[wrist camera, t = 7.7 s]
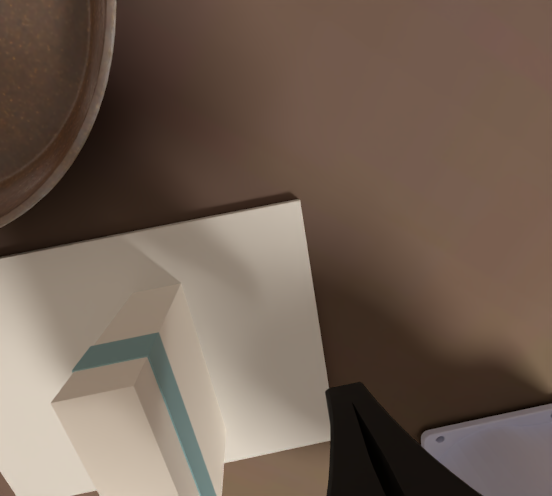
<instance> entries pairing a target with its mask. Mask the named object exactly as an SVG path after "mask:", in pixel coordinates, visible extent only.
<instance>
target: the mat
mask: <svg viewBox="0 0 552 496" xmlns="http://www.w3.org/2000/svg"><path fill="white" fill-rule="evenodd" d="M180 283H181V285H182V288H183V291H184V294H185V298H186V301H187V304H188V307H189V311H190V314H191V317H192V320H193V324H194V327H195V330H196V333H197V337H198V340H199V343H200V346H201V350H202V353H203V356H204V359H205V363H206V366H207V369H208V372H209V376H210V379H211V382H212V385H213V389H214V392H215V395H216V398H217V402H218V405H219V408H220V411H221V415H222V418H223V421H224V424H225V428H226V443H225V457H224V463H227V462H232V461H237V460H241V459H246V458H251V457H255V456H260V455H265V454H269V453H274V452H279V451H283V450H288V449H293V448H298V447H302V446H307V445H312V444H316V443H321V442H326V441H330V420H329V414H328V408H327V401H326V395H325V391H326V390H327V389H329V385H328V378H327V372H326V365H325V359H324V352H323V346H322V339H321V333H320V326H319V320H318V313H317V307H316V300H315V294H314V287H313V281H312V275H311V268H310V262H309V255H308V249H307V242H306V236H305V229H304V223H303V216H302V210H301V203H300V200H299V199H296V200H291V201H285V202H280V203H275V204H270V205H265V206H260V207H254V208H249V209H244V210H239V211H234V212H229V213H224V214H218V215H213V216H208V217H203V218H198V219H193V220H188V221H182V222H177V223H172V224H167V225H162V226H157V227H152V228H146V229H141V230H136V231H131V232H126V233H121V234H115V235H110V236H105V237H100V238H95V239H90V240H85V241H79V242H74V243H69V244H64V245H59V246H54V247H49V248H43V249H38V250H33V251H28V252H23V253H18V254H13V255H7V256H2V257H0V472H1V473H2V475H3V476H4V478H5V479H6V481H7V482H8V484H9V485H10V487H11V488H12V490H13V491H14V493H15V495H16V496H72V495H77V494H82V493H86V492H91V491H96V488H95V486H94V484H93V482H92V480H91V478H90V477H89V475H88V473H87V471H86V469H85V467H84V465H83V463H82V462H81V460H80V458H79V456H78V454H77V452H76V450H75V448H74V446H73V445H72V443H71V441H70V439H69V437H68V435H67V433H66V431H65V430H64V428H63V426H62V424H61V422H60V420H59V418H58V416H57V415H56V413H55V411H54V409H53V407H52V405H51V402H52V400H53V399H54V398H55V396H56V395H57V394H58V392H59V391H60V390H61V388H62V387H63V386H64V384H65V383H66V382H67V380H68V379H69V378H70V376H71V375H72V374H73V373H72V370H73V368H74V367H75V366H76V364H77V363H78V362H79V360H80V359H81V358H82V357H83V355H84V354H85V353H86V351H87V350H88V349H89V347H90V346H94V344H95V343H96V342H97V340H98V339H99V338H100V336H101V335H102V334H103V332H104V331H105V330H106V328H107V327H108V326H109V324H110V323H111V322H112V320H113V319H114V318H115V316H116V315H117V314H118V312H119V311H120V310H121V308H122V307H123V306H124V304H125V303H126V302H127V300H128V299H129V298H130V296H131V295H132V294H133V293H135V292H140V291H145V290H150V289H155V288H160V287H165V286H170V285H175V284H180Z"/></svg>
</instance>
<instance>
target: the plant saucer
mask: <svg viewBox="0 0 552 496" xmlns="http://www.w3.org/2000/svg"><path fill="white" fill-rule="evenodd" d="M116 5H117V3H116V0H0V228H1V227H3V226H5V225H7V224H9V223H10V222H12V221H13V220H15V219H16V218H18V217H20V216H21V215H23V214H24V213H26V212H27V211H28V210H29V209H31V208H32V207H33V206H34V205H35V204H37V203H38V202H39V201H40V200H41V199H42V198H43V197H44V196H46V195H47V194H48V193H49V192H50V191H51V190H52V189H53V187H54V186H55V185H56V184H57V183H58V182H59V181H60V180H61V178H62V177H63V176H64V174H65V173H66V172H67V171H68V169H69V168H70V166H71V165H72V163H73V162H74V160H75V159H76V157H77V156H78V154H79V152H80V151H81V149H82V147H83V145H84V144H85V142H86V140H87V138H88V136H89V133H90V131H91V129H92V127H93V124H94V122H95V119H96V117H97V114H98V112H99V109H100V106H101V103H102V100H103V97H104V93H105V89H106V86H107V82H108V77H109V72H110V67H111V62H112V55H113V48H114V38H115V26H116Z"/></svg>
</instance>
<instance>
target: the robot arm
mask: <svg viewBox="0 0 552 496" xmlns="http://www.w3.org/2000/svg"><path fill="white" fill-rule="evenodd" d="M325 395H326V401H327V408H328V414H329V420H330V440H331V442H330V467H329V480H328V489H327V496H552V403H551V404H547V405H542V406H537V407H533V408H528V409H523V410H519V411H514V412H509V413H505V414H500V415H495V416H491V417H486V418H481V419H477V420H472V421H467V422H463V423H458V424H453V425H448V426H444V427H439V428H434V429H430V430H426V431H425V432H423V434H422V435H421V445H420V444H419V443H417V442H416V441H415V440H414V439H413V438H412V437H411V436H410V435H409V434H408V433H407V432H406V431H405V430H404V429H403V428H402V427H401V426H400V425H399V424H398V423H397V422H396V421H395V420H394V419H393V418H392V417H391V416H390V415H389V414H388V413H387V412H386V411H385V409H384V408H383V407H382V406H381V405H380V404H379V403H378V402H377V401H376V399H375V398H374V397H373V396H372V395H371V393H370V392H369V391H368V390H367V388H366V387H365V386H364V385H363V384H362V383H361V382H357V383H353V384H348V385H343V386H338V387H334V388H329V389H327V390H326V391H325Z"/></svg>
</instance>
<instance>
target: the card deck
mask: <svg viewBox="0 0 552 496" xmlns="http://www.w3.org/2000/svg"><path fill="white" fill-rule="evenodd" d="M72 373H73V374H72V375H71V376H70V378H69V379H68V380H67V382H66V383H65V384H64V386H63V387H62V388H61V390H60V391H59V392H58V394H57V395H56V396H55V398H54V399H53V400H52V402H51V405H52V407H53V409H54V411H55V413H56V415H57V416H58V418H59V420H60V422H61V424H62V426H63V428H64V430H65V431H66V433H67V435H68V437H69V439H70V441H71V443H72V445H73V446H74V448H75V450H76V452H77V454H78V456H79V458H80V460H81V462H82V463H83V465H84V467H85V469H86V471H87V473H88V475H89V477H90V478H91V480H92V482H93V484H94V486H95V488H96V490H97V492H98V494H99V495H100V496H222V485H223V471H224V457H225V443H226V428H225V424H224V421H223V418H222V415H221V411H220V408H219V405H218V402H217V398H216V395H215V392H214V389H213V385H212V382H211V379H210V376H209V372H208V369H207V366H206V363H205V359H204V356H203V353H202V350H201V346H200V343H199V340H198V337H197V333H196V330H195V327H194V324H193V320H192V317H191V314H190V311H189V307H188V304H187V301H186V298H185V294H184V291H183V288H182V285H181V283H180V284H175V285H170V286H165V287H160V288H155V289H150V290H145V291H140V292H135V293H133V294H132V295H131V296H130V298H129V299H128V300H127V302H126V303H125V304H124V306H123V307H122V308H121V310H120V311H119V312H118V314H117V315H116V316H115V318H114V319H113V320H112V322H111V323H110V324H109V326H108V327H107V328H106V330H105V331H104V332H103V334H102V335H101V336H100V338H99V339H98V340H97V342H96V343H95V344H94V346H90V347H89V349H88V350H87V351H86V353H85V354H84V355H83V357H82V358H81V359H80V360H79V362H78V363H77V364H76V366H75V367H74V368H73V370H72Z"/></svg>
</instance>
